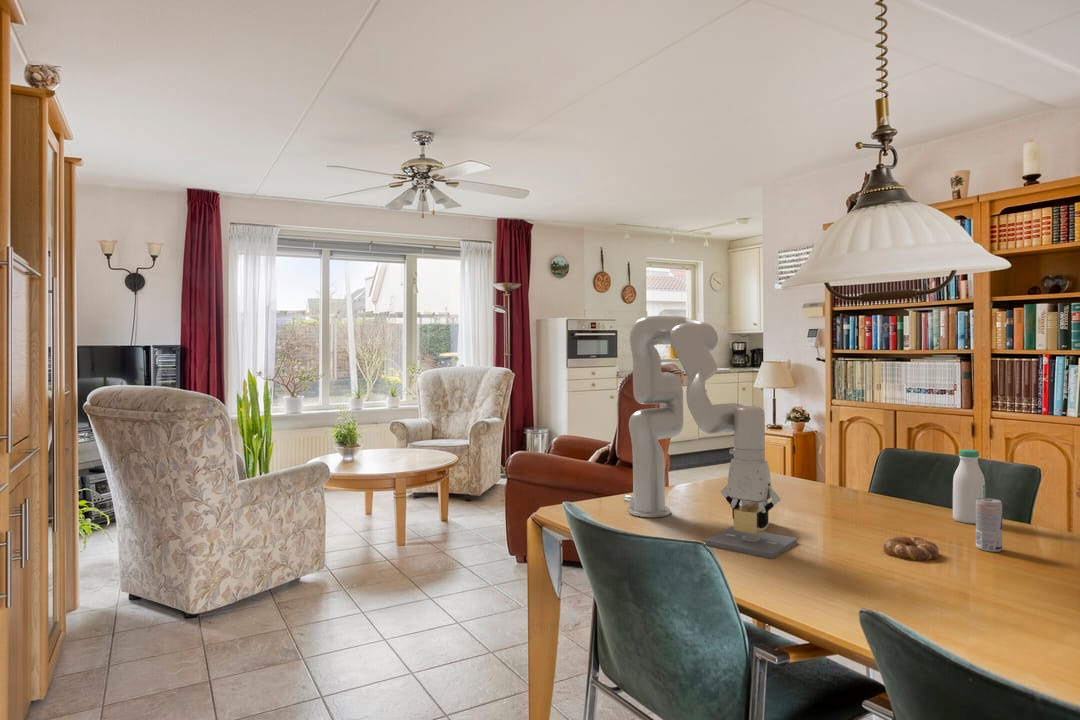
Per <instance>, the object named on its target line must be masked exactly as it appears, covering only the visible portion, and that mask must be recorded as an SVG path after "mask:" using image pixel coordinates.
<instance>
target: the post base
mask: <svg viewBox="0 0 1080 720" xmlns="http://www.w3.org/2000/svg"><path fill="white" fill-rule="evenodd" d="M798 540H799V539H798V537H793V536H787V535H782V534H776V533H771V532H766V531H762V532H760V533H758V534H752V533H747V532H742V531H737V530H734V526H732V525H731V526H728V527H727V528H725V529H723V530H721V531H719V532H717V533H715V534H713V535H711V536H709V537H707V538H705V539H703V543H704V542H705V543H706V544H707V545H708V546H709V547H713V548H717V549H724V550H726V551H727V550H728V551H733V552H737V553H742V554H748V555H751V556H756V557H757V556H758V557H760V558H761V557H762V558H765V559H772V560H773V559H775V558H777V557H778V556H779V555H781V554H783V553H785V552H786V551H787V550H789V549H790V548H792V547H793V545H794V546H796V545H797V544H798ZM796 543H797V544H796ZM707 545H706V546H707Z"/></svg>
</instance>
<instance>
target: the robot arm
mask: <svg viewBox="0 0 1080 720" xmlns="http://www.w3.org/2000/svg"><path fill="white" fill-rule="evenodd" d="M629 333H630V334H629V346H630V351H631V355H632V388H633V389H632V390H633V398H634V400H635V401H636V402H637V403H638V404H641V405H658V404H659V407H655V408H654V407H653V408H644V409H643V408H642V409H639V410H637V411H635V412H633V413H632V414H631V416H630V417H629V420H628V432H629V435H630V439H631V446H632V447H631V448H632V484H633V486H632V493H633V494H632V495H629V494H628V495H627V494H626V495H625V496H624V498H623V503H626V504H629V505H630V506H629V507H628V508H627V509H628V513H629V514H630V515H632V516H635V517H639V516H640V517H641V518H660V517H666V516H668V515H670V514H671V508H670V507H668V506H667V505H666V491H665V490H666V488H665V487H666V485H665V484H666V483H665V482H666V481H665V478H666V477H665V475H666V474H665V471H666V470H665V453H664V450H663V447H662V446H661V444H660V442H659V440H665V439H670V438H675V437H677V436H679V435H680V434H681V432H682V431H683V427H684V389H683V385H682V384H683V383H682V382H681V379H680V378H679V377H678V376H677V375H676V374H675V373H673V372H668V371H666V372H663V371H662V359H661V356H660V353H659V350H658V349H657V347H656V345H665V346H666V345H671V346H672V348H673V351H674V353H675V355H676V356H677V359H678V361H679V362H680V365H681V366H682V368H683V371H684V372H685V374H686V376H687V379H688V381H687V385H686V392H685V393H686V394H685V396H686V404H687V408H688V410H689V412H690V414H691V416H692V418H693V420H694V422H695V423H696V425H697V427H698V428H699V429H700V430H701V431H702V432H704V433H706V434H710V435H711V434H714V435H715V434H722V433H723V434H724V433H731V432H732V433H733V447H732V448H730V449H729V454H730V455H731V454H732V455H733V458H731V460H730V463H729V467H728V476H727V484H726V485H725V486H724V487H723V488H722V489H721V490H720V494H721V495H722V496H723V498H725V500H726V502H727V503H728V504H729V505H730V508H732V509H731V510H732V519H733V520H734V509H736V508H738V507H740V505H739V504H740V502H741V500H746V501H753V502H758V504H759V507H760V509H761V512H760V513H759V528H764V527H766V526H767V524H768V512H769V511H770V510H772V508H774V507H775V506H776V505H778V503H779V502H781V499H782V498H781V497H780V496H779V495H778V494H777V492H776V491H775V490H774V489H773V488H772V479H771V472H770V467H769V463H768V460H766V420H765V419H766V417H765V416H766V415H765V413H766V412H765V410H764V408H762V407H761V406H756V405H755V406H754V405H744V404H739V403H736V402H735V403H733V402H729V403H728V402H727V403H716V404H715V403H714V404H713V403H712V402H711V400H710V398H709V396H708V394H707V392H706V381H707V380H709V379H711V378H712V377H713V376H715V374H716V373H717V371H718V364H717V362H716V360H715V359H714V357H713V354H712V353H711V352H712V351H713V350H714V349H716V347H717V346H718V342H719V336H718V333H717V331H716V329H715V327H714V326H712V325H711V324H710V323H707V322H703V321H699V320H696V319H692V318H689V317H684V316H677V315H675V316H674V315H671V316H669V315H668V316H667V315H666V316H665V315H650V316H644V317H642V318H639V319H638V320H636V321H635V322H634V324H632V327H631V329H630V332H629ZM767 499H768V500H770V499H771V500H770V502H769V501H768V502H767Z"/></svg>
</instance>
